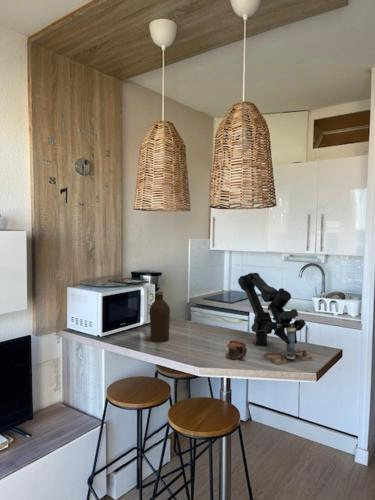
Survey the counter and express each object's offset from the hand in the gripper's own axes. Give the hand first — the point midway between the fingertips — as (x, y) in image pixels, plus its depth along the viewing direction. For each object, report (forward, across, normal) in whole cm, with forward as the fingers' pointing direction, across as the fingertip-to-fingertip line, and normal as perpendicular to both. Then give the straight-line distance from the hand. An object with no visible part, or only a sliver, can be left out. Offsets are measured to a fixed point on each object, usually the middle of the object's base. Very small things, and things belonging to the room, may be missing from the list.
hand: (292, 343), depth 159 cm
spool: (+4, 0, +6) cm, 7 cm away
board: (+3, 0, +8) cm, 8 cm away
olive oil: (-30, -46, +41) cm, 68 cm away
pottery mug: (-3, -20, +14) cm, 25 cm away
